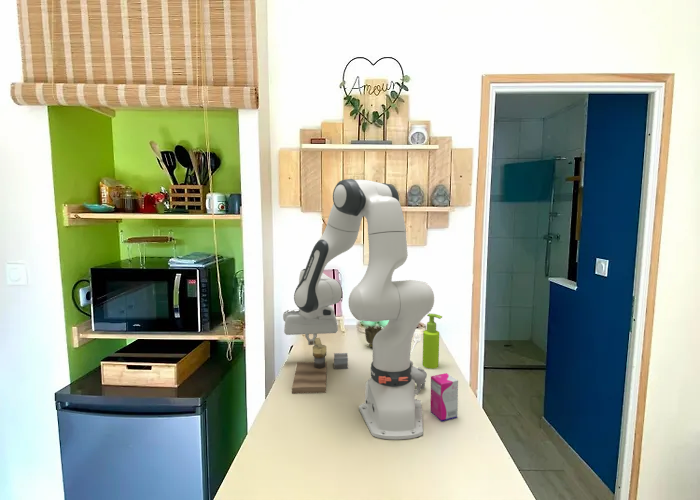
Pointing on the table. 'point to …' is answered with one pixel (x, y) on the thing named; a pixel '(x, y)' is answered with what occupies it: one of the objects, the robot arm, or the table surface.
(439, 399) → the supplement box
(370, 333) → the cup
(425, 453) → the table surface
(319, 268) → the robot arm
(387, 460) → the table surface
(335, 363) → the lock base
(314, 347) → the latch lever
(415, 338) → the fork
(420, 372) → the pig figurine
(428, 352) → the soap dispenser
